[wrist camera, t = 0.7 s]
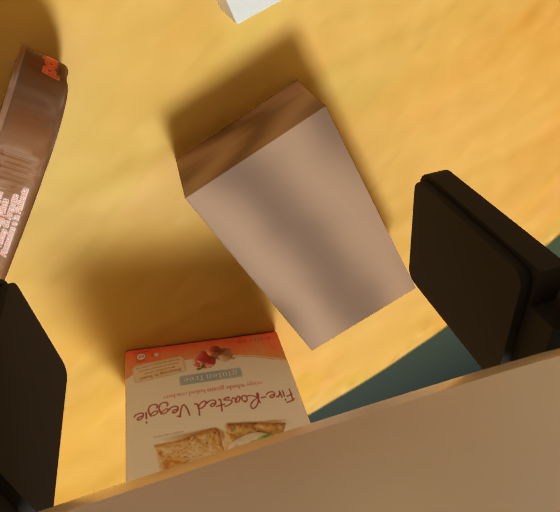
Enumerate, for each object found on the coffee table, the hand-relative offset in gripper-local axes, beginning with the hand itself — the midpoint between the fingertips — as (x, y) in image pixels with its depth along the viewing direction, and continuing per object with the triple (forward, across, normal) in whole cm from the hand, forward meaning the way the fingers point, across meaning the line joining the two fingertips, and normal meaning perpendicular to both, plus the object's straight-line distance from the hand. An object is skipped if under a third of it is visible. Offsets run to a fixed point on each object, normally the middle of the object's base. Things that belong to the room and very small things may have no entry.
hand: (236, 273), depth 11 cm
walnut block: (+23, -7, +14) cm, 28 cm away
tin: (+23, +10, +4) cm, 26 cm away
